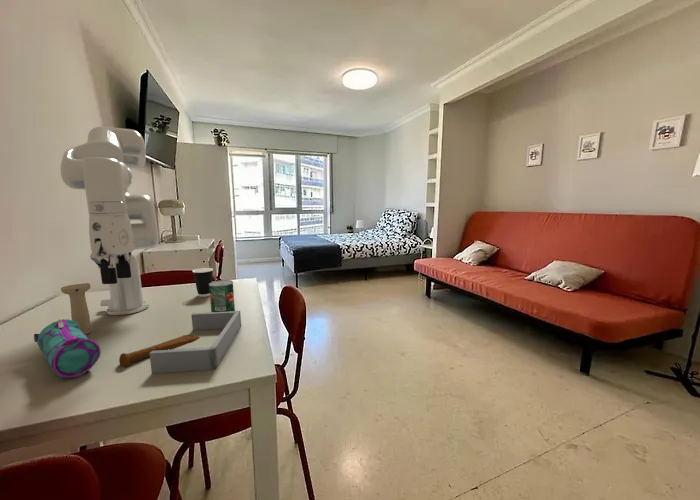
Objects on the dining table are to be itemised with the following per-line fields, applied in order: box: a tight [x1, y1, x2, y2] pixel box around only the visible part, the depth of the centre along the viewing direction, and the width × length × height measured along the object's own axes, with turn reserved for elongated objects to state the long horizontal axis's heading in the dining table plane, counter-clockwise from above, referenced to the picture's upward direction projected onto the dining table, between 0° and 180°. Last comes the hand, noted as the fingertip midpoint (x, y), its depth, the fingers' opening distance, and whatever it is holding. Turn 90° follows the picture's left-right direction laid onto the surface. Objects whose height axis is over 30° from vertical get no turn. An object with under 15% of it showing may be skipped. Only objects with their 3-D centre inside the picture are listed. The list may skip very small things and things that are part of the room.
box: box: [149, 310, 242, 374], centre depth 83 cm, size 14×25×5 cm, turn 7°
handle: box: [60, 282, 91, 336], centre depth 90 cm, size 5×6×15 cm
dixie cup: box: [192, 267, 214, 298], centre depth 129 cm, size 8×8×11 cm
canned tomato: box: [209, 279, 236, 312], centre depth 108 cm, size 8×8×11 cm
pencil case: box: [33, 318, 102, 379], centre depth 74 cm, size 21×9×10 cm, turn 53°
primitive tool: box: [118, 334, 200, 368], centre depth 81 cm, size 19×6×4 cm, turn 154°
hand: (117, 279), depth 78 cm, fingers open, 5 cm apart
